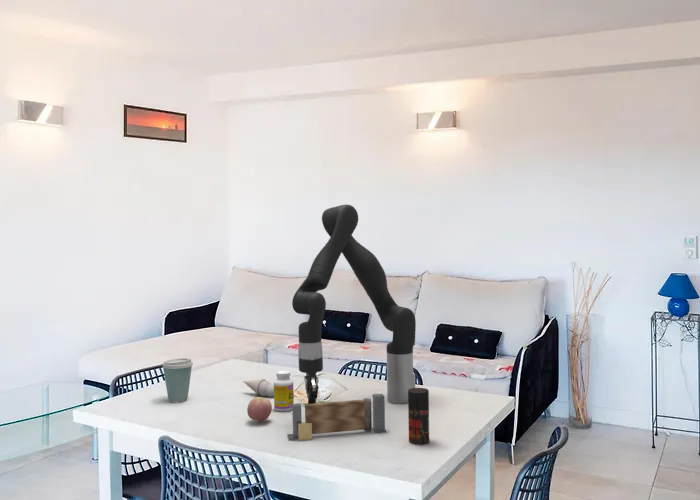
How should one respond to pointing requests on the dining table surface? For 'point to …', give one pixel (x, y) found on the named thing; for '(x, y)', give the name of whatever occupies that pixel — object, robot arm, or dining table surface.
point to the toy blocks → (299, 425)
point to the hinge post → (378, 413)
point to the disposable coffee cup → (177, 378)
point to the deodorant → (418, 416)
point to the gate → (339, 416)
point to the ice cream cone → (261, 387)
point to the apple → (259, 409)
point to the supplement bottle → (283, 392)
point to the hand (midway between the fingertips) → (312, 410)
